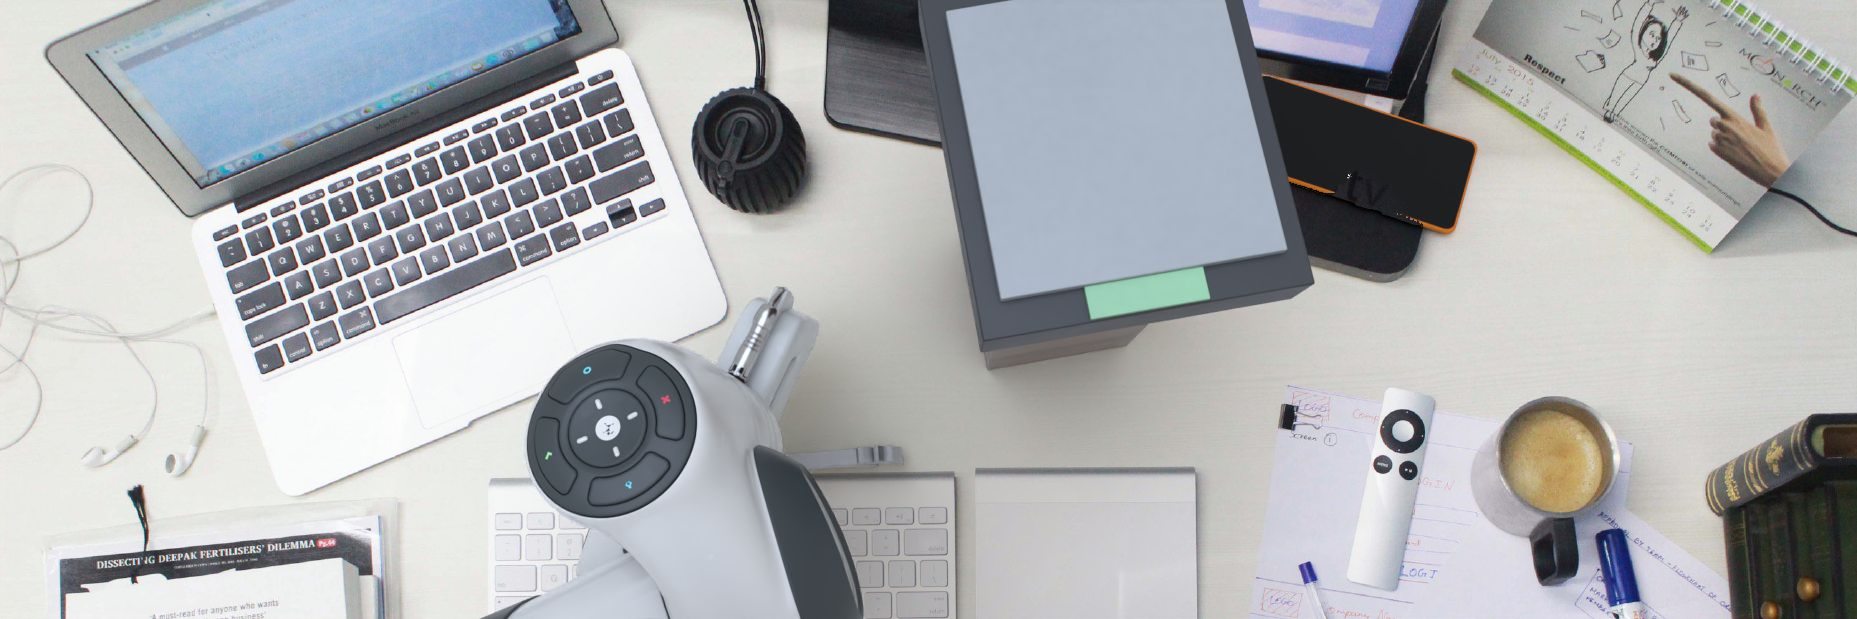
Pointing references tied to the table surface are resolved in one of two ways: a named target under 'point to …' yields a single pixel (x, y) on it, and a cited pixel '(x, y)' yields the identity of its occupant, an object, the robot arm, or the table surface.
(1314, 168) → the smartphone
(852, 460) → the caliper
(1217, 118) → the scale
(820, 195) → the table surface
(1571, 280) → the table surface
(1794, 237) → the table surface
